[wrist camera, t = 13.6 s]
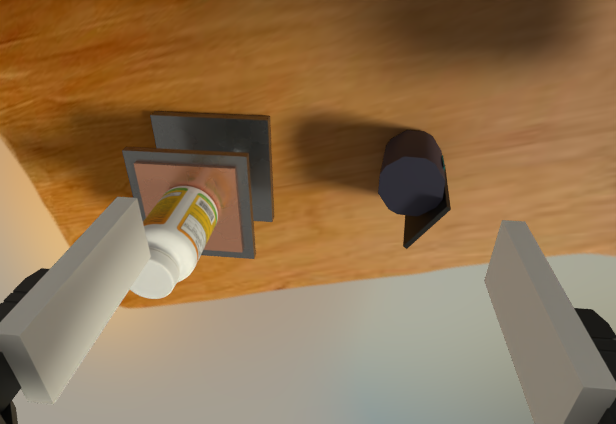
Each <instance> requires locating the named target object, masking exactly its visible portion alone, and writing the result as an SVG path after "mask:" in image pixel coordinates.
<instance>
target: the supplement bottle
mask: <svg viewBox="0 0 616 424" xmlns="http://www.w3.org/2000/svg"><path fill="white" fill-rule="evenodd" d="M217 220H218V211H217V208H216V205H215V203H214V202H213V200H212V199H211V198H210V197H209V196H208V195H207V194H206V193H205V192H203V191H202V190H200V189H197V188H195V187H191V186H177V187H174V188H172V189H170V190H168V191H167V192H166V193H165V194H164V195H163V196H162V198H161V199H160V200H159V201H158V203H157V204H156V205H155V207H154V208H153V209H152V211H151V212H150V213H149V215H148V216H147V217H146V219H145V220H144V221H143V225H144V229H145V234H146V238H147V242H148V246H149V251H150V255H151V257H150V259H149V260H148V262H147V263H146V265H145V267H144V268H143V270H142V271H141V273H140V274H139V276H138V277H137V279H136V280H135V282H134V283H133V285H132V286H131V288H130V290H131V291H133V292H134V293H136V294H138V295H140V296H142V297H145V298H150V299H158V298H163V297H165V296H167V295H169V294H170V293H171V291H172V290H173V288H174V287H175V285H176V284H177V282H179V281H182V280H184V279H185V278H187V277H188V276H189V275H190V274H191V273H192V271H193V269H194V268H195V266H196V264H197V262H198V260H199V258H200V256H201V254H202V252H203V250H204V248H205V246H206V244H207V242H208V240H209V238H210V236H211V234H212V232H213V230H214V228H215V226H216V223H217Z"/></svg>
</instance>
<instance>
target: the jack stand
mask: <svg viewBox="0 0 616 424" xmlns="http://www.w3.org/2000/svg"><path fill="white" fill-rule="evenodd" d="M150 117H151V122H152V127H153V132H154V137H155V143H156V148H142V147H125V148H124V149H123V150H122V152H123V156H124V160H125V164H126V169H127V173H128V177H129V181H130V185H131V189H132V193H133V198H137V200H138V204H139V208H140V212H141V217H142V221H144V220H145V219H146V217H147V216H148V215H149V213H150V212H151V211H152V209H153V208H154V207H155V205H156V204H157V203H158V201H159V200H160V199H161V198H162V196H163V195H164V194H165V193H166V192H167V191H168V190H170V189H172V188H174V187H177V186H191V187H195V188H197V189H200V190H202V191H203V192H205V193H206V194H207V195H208V196H209V197H210V198H211V199H212V200H213V202H214V203H215V205H216V208H217V211H218V220H217V223H216V226H215V228H214V230H213V232H212V234H211V236H210V238H209V240H208V242H207V244H206V246H205V248H204V250H203V252H202V254H201V255H207V256H221V257H235V258H249V259H254V258H255V255H256V250H255V236H254V222H253V221H266V222H272V221H273V218H274V200H273V177H272V153H271V129H270V116H256V115H233V114H210V113H187V112H163V111H154V112H153V113H152V114H151V115H150Z"/></svg>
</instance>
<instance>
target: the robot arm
mask: <svg viewBox="0 0 616 424" xmlns="http://www.w3.org/2000/svg"><path fill="white" fill-rule="evenodd" d="M150 257H151V255H150V251H149V246H148V242H147V238H146V234H145V229H144V225H143V221H142V217H141V212H140V208H139V204H138V200H137V198H128V197H117V198H116V199H115V200H114V201H113V202H112V203H111V204H110V205H109V206H108V207H107V208H106V210H105V211H104V212H103V213H102V214H101V215H100V216H99V217H98V218H97V219H96V220H95V221H94V222H93V223H92V225H91V226H90V227H89V228H88V229H87V230H86V231H85V232H84V233H83V234H82V235H81V236H80V237H79V238H78V240H77V241H76V242H75V243H74V244H73V245H72V246H71V247H70V248H69V249H68V250H67V251H66V253H65V254H64V255H63V256H62V257H61V258H60V259H59V260H58V261H57V262H56V263H55V264H54V265H53V266H52V267H51V268H50V269H40V270H38V271H37V272H35V273H33V274H32V275H30V276H29V277H27V278H25V279H24V280H23V281H22V282H21V283H20V284H19V285H18V286H17V287H16V288H15V289H14V291H13V293H11V294H10V295H9V296H8V297H7V298H6V299H5V300H4V302H3V303H1V304H0V424H18V421H17V413H16V407H15V405H14V403H13V402H12V399H13V398H14V397H15V395H16V394H17V393H18V391H19V390H20V389H21V390H22V392H23V394H24V395H25V397H26V399H27V401H28V402H35V403H45V404H55V402H56V401H57V399H58V398H59V396H60V394H61V393H62V391H63V390H64V388H65V387H66V385H67V384H68V382H69V381H70V379H71V378H72V376H73V375H74V373H75V372H76V370H77V369H78V367H79V366H80V364H81V362H82V361H83V359H84V358H85V356H86V355H87V353H88V352H89V350H90V349H91V347H92V346H93V344H94V342H95V341H96V340H97V338H98V337H99V335H100V334H101V332H102V331H103V329H104V327H105V326H106V324H107V323H108V321H109V320H110V318H111V317H112V315H113V314H114V312H115V311H116V309H117V307H118V306H119V305H120V303H121V302H122V300H123V299H124V297H125V295H126V294H127V292H128V291H129V289H130V288H131V286H132V285H133V283H134V282H135V280H136V279H137V277H138V276H139V274H140V273H141V271H142V270H143V268H144V267H145V265H146V263H147V262H148V260H149V259H150ZM484 281H485V284H486V287H487V290H488V293H489V296H490V298H491V301H492V304H493V307H494V310H495V312H496V315H497V318H498V321H499V324H500V327H501V330H502V332H503V335H504V338H505V341H506V344H507V347H508V350H509V352H510V355H511V358H512V361H513V364H514V367H515V369H516V372H517V375H518V378H519V381H520V383H521V386H522V389H523V392H524V395H525V398H526V401H527V403H528V406H529V409H530V412H531V415H532V418H533V420H534V423H535V424H616V335H615V333H614V332H613V330H612V328H611V327H610V325H609V324H608V323H607V322H606V321H605V320H604V319H603V318H601V317H600V316H599V315H598V314H597V313H596V312H595V311H593V310H591V309H578V308H574V307H573V306H572V304H571V302H570V300H569V298H568V297H567V295H566V293H565V292H564V290H563V288H562V286H561V285H560V283H559V281H558V279H557V277H556V276H555V274H554V272H553V270H552V268H551V267H550V265H549V263H548V261H547V260H546V258H545V256H544V254H543V253H542V251H541V249H540V247H539V246H538V244H537V242H536V240H535V238H534V237H533V235H532V233H531V231H530V230H529V228H528V226H527V224H526V223H525V222H522V221H506V220H502V222H501V226H500V229H499V232H498V236H497V239H496V243H495V246H494V249H493V253H492V256H491V260H490V263H489V267H488V270H487V274H486V277H485V280H484Z"/></svg>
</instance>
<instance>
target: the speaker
mask: <svg viewBox="0 0 616 424" xmlns="http://www.w3.org/2000/svg"><path fill="white" fill-rule="evenodd" d="M378 194H379V195H380V197H381V198H382V200H383V201H384V203H385V204H386V206H387V207H388V209H389V210H391V211H393V212H395V213H396V214H401V215H405V228H404V243H403V246H404V247H405V248H406V249H407V248H408V247H409V246H411V245H412V244H413V243H414V242H415V241H416V240H417V239H418V238H419V237H421V236H422V235H423V234H424V233H425V232H426V231H427V230H428V229H430V228H431V227H432V226H433V225H434V224H435V223H436V222H437V221H438V220H440V219H441V218H442V217H443V216H444V215H445V214H446V213H447V212H448V211H450V210H451V208H450V200H449V193H448V185H447V177H446V170H445V165H444V159H443V155H442V153H441V150H440V148H439V146H438V145H437V143H436V141H435V140H434V138H433V136H431V135H430V134H428V133H426V132H424V131H411V130H406V131H404V132H402V133H400V134H399V135H397V136H395V137H393V138H392V139H390V141H389V142H388V144H387V145H386V148H385V153H384V158H383V162H382V167H381V172H380V180H379V190H378Z"/></svg>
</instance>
